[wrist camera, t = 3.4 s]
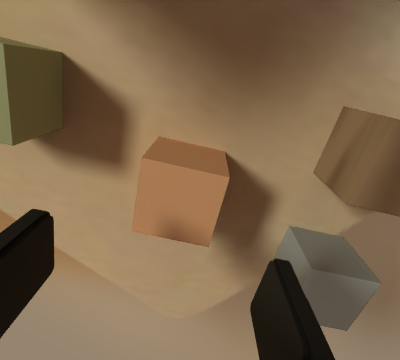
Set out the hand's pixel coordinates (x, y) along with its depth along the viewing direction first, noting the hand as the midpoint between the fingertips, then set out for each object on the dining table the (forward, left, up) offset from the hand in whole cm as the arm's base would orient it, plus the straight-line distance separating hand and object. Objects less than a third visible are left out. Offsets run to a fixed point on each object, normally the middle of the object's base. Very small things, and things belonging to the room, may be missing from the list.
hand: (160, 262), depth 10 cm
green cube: (+12, -4, -9) cm, 16 cm away
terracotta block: (0, 0, -9) cm, 9 cm away
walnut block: (-12, -5, -9) cm, 16 cm away
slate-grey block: (-12, +5, -9) cm, 16 cm away
